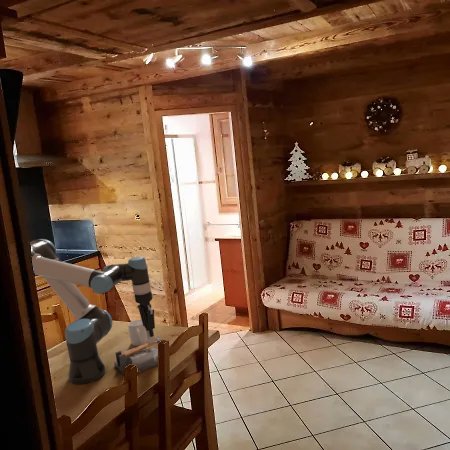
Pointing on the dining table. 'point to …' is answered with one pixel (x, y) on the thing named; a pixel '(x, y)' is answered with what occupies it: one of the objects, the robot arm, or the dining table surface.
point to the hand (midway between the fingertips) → (151, 342)
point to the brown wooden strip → (138, 349)
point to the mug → (137, 333)
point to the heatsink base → (138, 358)
